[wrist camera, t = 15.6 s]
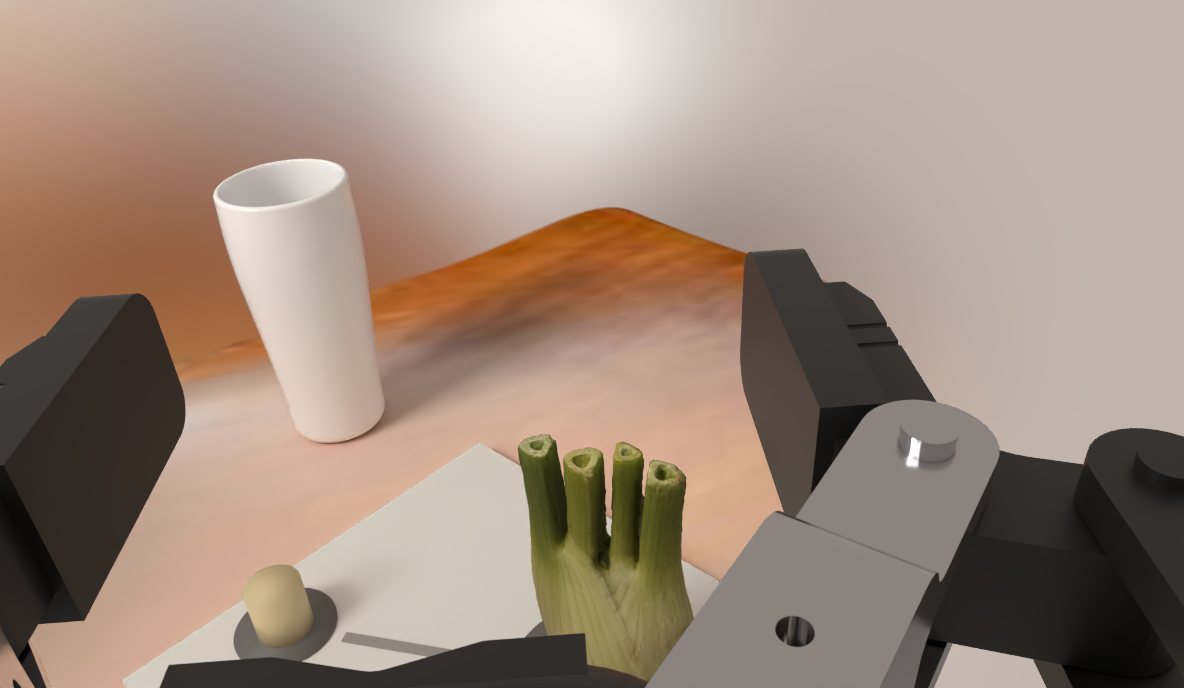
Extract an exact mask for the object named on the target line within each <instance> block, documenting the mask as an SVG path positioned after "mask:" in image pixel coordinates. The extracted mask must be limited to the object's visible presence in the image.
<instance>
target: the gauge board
mask: <svg viewBox="0 0 1184 688" xmlns="http://www.w3.org/2000/svg"><path fill="white" fill-rule="evenodd" d="M606 522H607V525H606V529H607V532H608V534H609V535H610V536H611V523H612V519H611V518H609V517H607V516H606ZM681 562H682V569H683V575H684V580H685V586H686V590H687V594H688V597H689V601H690V604H691V608H692V612H693V616H694V618H695V617H696V615H697V614H698V612H699V611H700V610H701V608H702V607H703V606H704V604H705V603H706V601H707V600H708V599H709V597H710V596H711V594H712V593H713V592H714V590H715V589H716V587H717V586H718V585H719V583H720V581H718V580H716V579H715V578H713V577H711V576H709V575H708V574H706V573H704V572H702V571H701V570H699V569H697V568H696V567H694V566H692V565H690V564H689V563H687V562H685V561H683V560H682V559H681ZM242 596H243V600H241V601H240V602H238V603H237V604H235V605H234V606H232V607H231V608H229V609H228V610H226V611H225V612H223V613H222V614H220V615H219V616H217V617H216V618H214V619H213V620H211V621H210V622H208V623H207V624H205V625H204V626H202V627H201V628H199V629H198V630H196V631H195V632H193V633H192V634H190V635H189V636H187V637H186V638H184V639H183V640H181V641H180V642H178V643H177V644H175V645H174V646H172V647H171V648H169V649H168V650H166V651H165V652H163V653H162V654H160V655H159V656H157V657H156V658H154V659H153V660H151V661H150V662H148V663H147V664H145V665H143V666H142V667H140V668H139V669H137V670H136V671H134V672H133V673H131V674H130V675H128V676H127V677H125V678H124V679H122V682H123V684H124V686H125V688H160V685H161V683H162V680H163V678H164V675H165V673H166V670H167V668H168V665H174V664H187V663H200V662H213V661H226V660H239V659H252V658H265V657H275V658H281V659H288V660H294V661H301V662H307V663H314V664H320V665H327V666H333V667H340V668H346V669H353V670H359V671H369V672H370V671H380V670H384V669H388V668H391V667H395V666H398V665H402V664H405V663H409V662H412V661H415V660H419V659H422V658H426V657H429V656H433V655H436V654H439V653H443V652H446V651H450V650H453V649H457V648H460V647H464V646H467V645H470V644H474V643H477V642H481V641H486V640H499V639H512V638H525V637H538V636H548V635H547V634H546V629H545V625H544V622H543V620H542V618H541V614H540V609H539V606H538V602H537V598H536V590H535V585H534V582H533V576H532V562H531V537H530V520H529V508H528V502H527V496H526V491H525V486H524V480H523V473H522V469H521V466H519V465H517V464H516V463H514V462H512V461H511V460H509V459H507V458H505V457H504V456H502V455H500V454H498V453H497V452H495V451H493V450H492V449H490V448H488V447H486V446H485V445H483V444H481V443H477V444H476V445H474V446H473V447H471V448H470V449H468V450H467V451H465V452H464V453H462V454H461V455H459V456H458V457H456V458H455V459H453V460H452V461H450V462H449V463H447V464H446V465H444V466H443V467H441V468H440V469H438V470H437V471H435V472H434V473H432V474H431V475H429V476H428V477H426V478H425V479H423V480H422V481H420V482H419V483H417V484H416V485H414V486H413V487H411V488H410V489H408V490H407V491H405V492H404V493H402V494H401V495H399V496H398V497H396V498H395V499H393V500H392V501H390V502H389V503H387V504H386V505H384V506H383V507H381V508H379V509H378V510H376V511H375V512H373V513H372V514H370V515H369V516H367V517H366V518H364V519H363V520H361V521H360V522H358V523H357V524H355V525H354V526H352V527H351V528H349V529H348V530H346V531H345V532H343V533H342V534H340V535H339V536H337V537H336V538H334V539H333V540H331V541H330V542H328V543H327V544H325V545H324V546H322V547H321V548H319V549H318V550H316V551H315V552H313V553H312V554H310V555H309V556H307V557H306V558H304V559H303V560H301V561H300V562H298V563H297V564H295V565H294V566H289V565H274V566H270V567H267V568H264V569H262V570H260V571H258V572H257V573H255V574H254V575H253V576H252V577H250V578H249V580H248V581H247V582H246V584H245V585H244V588H243V591H242Z"/></svg>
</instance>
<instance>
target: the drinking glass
mask: <svg viewBox="0 0 1184 688" xmlns="http://www.w3.org/2000/svg"><path fill="white" fill-rule="evenodd" d="M213 196H214V197H213V198H214V202H215V206H216V210H217V214H218V219H219V222H220V227H221V231H222V234H223V238H224V241H225V245H226V248H227V251H228V254H229V258H230V261H231V264H232V267H233V270H234V272H235V275H236V278H237V280H238V283H239V285H240V288H241V290H242V293H243V295H244V298H245V300H246V302H247V305H248V307H249V310H250V312H251V315H252V317H253V320H254V322H255V324H256V327H257V329H258V332H259V334H260V337H261V339H262V342H263V344H264V346H265V349H266V351H267V354H268V356H269V359H270V361H271V364H272V366H273V369H274V371H275V374H276V376H277V379H278V381H279V384H280V386H281V389H282V391H283V394H284V396H285V399H286V401H287V405H288V408H289V412H290V415H291V418H292V421H293V424H294V426H295V428H296V430H297V431H298V432H299V433H300V434H301V435H302V436H304V437H305V438H307V439H310V440H312V441H316V442H322V443H334V442H341V441H346V440H349V439H353V438H355V437H358V436H360V435H362V434H364V433H365V432H367V431H368V430H370V429H371V428H372V427H374V426H375V425H376V424H377V423H378V421H379V420H380V419H381V417H382V415H383V412H384V408H385V400H384V394H383V390H382V385H381V381H380V375H379V367H378V359H377V351H376V343H375V335H374V326H373V318H372V309H371V300H370V291H369V283H368V274H367V265H366V257H365V250H364V244H363V237H362V231H361V226H360V222H359V217H358V213H357V208H356V205H355V200H354V197H353V193H352V189H351V185H350V182H349V178H348V174H347V171H346V170H345V169H344V168H343V167H342V166H340V165H338V164H337V163H334V162H330V161H326V160H319V159H292V160H284V161H277V162H271V163H267V164H263V165H259V166H255V167H252V168H249V169H246V170H244V171H241V172H239V173H236V174H235V175H232V176H231V177H229V178H227V179H226V180H224V181H223V182H222V183H220V184H219V186H218V187H217V188H216V189H215V191H214V195H213Z"/></svg>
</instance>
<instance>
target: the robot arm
mask: <svg viewBox="0 0 1184 688" xmlns="http://www.w3.org/2000/svg"><path fill="white" fill-rule="evenodd" d="M740 362H741V375H742V382H743V388H744V392H745V396H746V399H747V402H748V405H749V408H750V411H751V414H752V417H753V420H754V423H755V426H756V429H757V432H758V435H759V438H760V441H761V444H762V447H763V450H764V453H765V456H766V459H767V462H768V465H769V468H770V471H771V474H772V477H773V480H774V483H775V486H776V489H777V492H778V495H779V498H780V501H781V504H782V507H783V510H784V513H783V512H781V511H775V512H773V513H772V514H770V515H769V516H768V517H767V518H766V519H765V521H764V522H763V523H762V525H761V526H760V527H759V529H758V530H757V531H756V533H755V534H754V536H753V537H752V538H751V540H750V541H749V543H748V544H747V545H746V547H745V548H744V550H743V551H742V552H741V554H740V555H739V557H738V558H737V559H736V561H735V562H734V564H733V565H732V566H731V568H730V569H729V571H728V572H727V573H726V575H725V576H724V578H723V579H722V580H721V582H720V583H719V585H718V586H717V587H716V589H715V590H714V592H713V593H712V594H711V596H710V597H709V599H708V600H707V601H706V603H705V604H704V606H703V607H702V608H701V610H700V611H699V612H698V614H697V615H696V617H695V618H694V619H693V621H692V622H691V624H690V625H689V626H688V628H687V629H686V631H685V632H684V633H683V635H682V636H681V638H680V639H679V640H678V642H677V643H676V645H675V646H674V647H673V649H672V650H671V652H670V653H669V654H668V656H667V657H666V659H665V660H664V661H663V663H662V664H661V666H660V667H659V668H658V670H657V671H656V673H655V674H654V675H653V677H652V678H651V680H650V681H649V682H648V681H646V680H643V679H641V678H639V677H636V676H634V675H631V674H628V673H624V672H620V671H617V670H613V669H610V668H605V667H599V666H593V665H588V663H587V650H586V638H585V633H577V634H564V635H551V636H538V637H525V638H512V639H499V640H486V641H481V642H477V643H474V644H470V645H467V646H464V647H460V648H457V649H453V650H450V651H446V652H443V653H439V654H436V655H433V656H429V657H426V658H422V659H419V660H415V661H412V662H409V663H405V664H402V665H398V666H395V667H391V668H388V669H384V670H380V671H370V672H369V671H359V670H353V669H346V668H340V667H333V666H327V665H320V664H314V663H307V662H301V661H294V660H288V659H281V658H275V657H265V658H252V659H239V660H226V661H213V662H200V663H187V664H174V665H168V668H167V670H166V673H165V675H164V678H163V680H162V683H161V685H160V688H934V686H935V684H936V682H937V679H938V677H939V675H940V672H941V670H942V667H943V665H944V663H945V660H946V658H947V656H948V653H949V651H950V648H951V646H952V643H953V644H958V645H963V646H969V647H974V648H979V649H984V650H989V651H995V652H999V653H1005V654H1010V655H1015V656H1020V657H1025V658H1030V659H1033V660H1034V662H1035V664H1036V666H1037V668H1038V671H1039V672H1040V675H1041V677H1042V679H1043V681H1044V683H1045V685H1046V687H1047V688H1184V437H1183V436H1179V435H1176V434H1173V433H1169V432H1164V431H1159V430H1151V429H1142V428H1139V429H1138V428H1129V429H1119V430H1115V431H1111V432H1108V433H1105V434H1103V435H1101V436H1099V437H1098V438H1097V439H1095V440H1094V441H1093V443H1092V444H1091V445H1090V446H1089V449H1088V452H1087V455H1086V458H1085V461H1084V464H1083V465H1082V464H1076V463H1069V462H1061V461H1054V460H1046V459H1040V458H1032V457H1026V456H1021V455H1015V454H1011V453H1007V452H1004V451H1000V450H999V445H998V443H997V440H996V438H995V436H994V435H993V433H992V432H991V431H990V430H989V429H988V427H987V426H986V425H984V424H983V423H982V422H981V421H979V420H978V419H977V418H975V417H973V416H972V415H970V414H968V413H966V412H964V411H962V410H960V409H958V408H955V407H952V406H949V405H946V404H941V403H937V402H936V400H935V399H934V397H933V396H932V394H931V392H930V391H929V389H928V388H927V386H926V384H925V383H924V381H923V380H922V378H921V376H920V375H919V373H918V372H917V370H916V369H915V367H914V365H913V364H912V362H911V360H910V359H909V357H908V356H907V354H906V352H905V351H904V349H903V348H902V346H901V345H900V346H899V345H898V340H897V338H896V336H895V335H894V333H893V332H892V330H891V328H890V327H887V323H886V321H885V319H884V317H883V316H882V314H881V313H880V311H879V309H878V308H877V306H876V305H875V303H874V301H873V300H872V299H870V298H869V297H867V296H866V295H864V294H863V293H861V292H860V291H858V290H857V289H855V288H854V287H852V286H851V285H849V284H848V283H846V282H832V283H823V282H822V280H821V278H820V276H819V274H818V273H817V271H816V269H815V267H814V265H813V263H812V262H811V260H810V258H809V256H808V254H807V253H806V251H805V250H804V249H789V250H775V251H761V252H749V253H748V254H747V256H746V259H745V265H744V281H743V303H742V324H741V346H740ZM184 423H185V399H184V394H183V390H182V386H181V384H180V381H179V378H178V375H177V373H176V370H175V367H174V364H173V361H172V359H171V356H170V353H169V350H168V348H167V345H166V342H165V339H164V336H163V334H162V331H161V328H160V326H159V323H158V320H157V317H156V314H155V312H154V310H153V307H152V305H151V303H150V302H149V301H148V299H147V298H146V297H145V296H143V295H141V294H138V293H136V294H124V295H123V294H122V295H109V296H94V297H82V298H79V299H77V300H76V301H75V302H74V303H73V304H72V305H71V306H70V307H69V309H68V310H67V311H66V312H65V313H64V315H63V316H62V317H61V318H60V319H59V320H58V322H57V323H56V324H55V325H54V326H53V328H52V329H51V330H50V331H49V332H48V334H47V335H46V336H42V337H40V338H39V339H37V340H36V341H34V342H33V343H31V344H30V345H28V346H27V347H25V348H23V349H22V350H20V351H19V352H18V353H16V354H15V355H13V356H11V357H10V358H8V359H7V360H6V361H5V362H4V363H3V364H2V365H1V366H0V688H52V687H51V684H50V682H49V679H48V677H47V674H46V672H45V670H44V667H43V665H42V662H41V660H40V657H39V656H38V654H37V652H36V650H35V649H34V647H33V645H32V643H31V642H30V640H29V639H30V637H31V636H32V634H33V632H34V630H35V629H36V627H37V625H38V624H45V623H59V622H72V621H84V620H85V618H86V616H87V614H88V613H89V611H90V609H91V607H92V605H93V603H94V601H95V599H96V597H97V595H98V593H99V591H100V590H101V588H102V586H103V584H104V582H105V580H106V578H107V576H108V574H109V572H110V570H111V568H112V567H113V565H114V563H115V561H116V559H117V557H118V555H119V553H120V551H121V549H122V547H123V545H124V544H125V542H126V540H127V538H128V536H129V534H130V532H131V530H132V528H133V526H134V524H135V522H136V521H137V519H138V517H139V515H140V513H141V511H142V509H143V507H144V505H145V503H146V501H147V499H148V498H149V496H150V494H151V492H152V490H153V488H154V486H155V484H156V482H157V480H158V478H159V476H160V475H161V473H162V471H163V469H164V467H165V465H166V463H167V461H168V459H169V457H170V455H171V453H172V452H173V450H174V448H175V446H176V444H177V442H178V440H179V438H180V436H181V434H182V431H183V428H184Z"/></svg>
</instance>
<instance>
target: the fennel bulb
mask: <svg viewBox="0 0 1184 688" xmlns="http://www.w3.org/2000/svg"><path fill="white" fill-rule="evenodd" d="M556 446H557V445H556V440H553V439H552V438H551V437H550V435H539V436H533V437H530V438H527V439H524V441H522V442H521V444H520V445H519V446H518V451H519V459H520V465H521V469H522V473H523V480H524V486H525V491H526V496H527V502H528V508H529V520H530V537H531V562H532V576H533V582H534V585H535V590H536V598H537V602H538V606H539V609H540V614H541V618H542V620H543V622H544V625H545V629H546V634H547V635H548V636H551V635H564V634H577V633H585V638H586V650H587V663H588V665H593V666H599V667H605V668H610V669H613V670H617V671H620V672H624V673H628V674H631V675H634V676H636V677H639V678H641V679H643V680H646V681H648V682H649V681H650V680H651V678H652V677H653V675H654V674H655V673H656V671H657V670H658V668H659V667H660V666H661V664H662V663H663V661H664V660H665V659H666V657H667V656H668V654H669V653H670V652H671V650H672V649H673V647H674V646H675V645H676V643H677V642H678V640H679V639H680V638H681V636H682V635H683V633H684V632H685V631H686V629H687V628H688V626H689V625H690V624H691V622H692V621H693V619H694V616H693V612H692V608H691V604H690V601H689V597H688V594H687V590H686V586H685V580H684V575H683V569H682V562H681V538H682V537H681V534H682V511H683V505H684V496H685V490H686V476H684V474H683V472H682V471H681V470H679V469H678V468H677V467H676V466H675V465H672V464H670V463H667V462H663V461H659V460H652V461H650V463H649V470H648V474H647V480H646V487H645V497H644V496H643V494H642V480H643V468H644V459H643V454H642V452H641V451H640V450H639V449H637V448H635V447H634V446H632V445H630V444H628V443H625V442H620V443H617V444H616V450H615V453H614V458H613V476H612V488H613V491H612V505H611V509H612V523H611V536H610V535H609V534H608V532H607V529H606V525H607V522H606V514H605V512H606V505H605V494H606V489H605V474H604V459H603V453H602V452H601V451H599V450H597V449H595V448H589V447H588V448H584V449H579V450H574V451H572V452H570V453H567V454H566V455H565V456H564V459H563V465H564V480H565V487H564V480H563V476H562V472H561V467H560V462H559V458H558V453H557V447H556Z"/></svg>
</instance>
